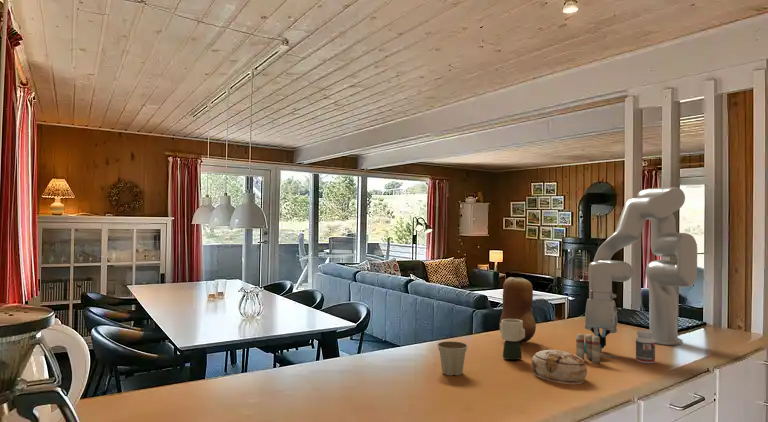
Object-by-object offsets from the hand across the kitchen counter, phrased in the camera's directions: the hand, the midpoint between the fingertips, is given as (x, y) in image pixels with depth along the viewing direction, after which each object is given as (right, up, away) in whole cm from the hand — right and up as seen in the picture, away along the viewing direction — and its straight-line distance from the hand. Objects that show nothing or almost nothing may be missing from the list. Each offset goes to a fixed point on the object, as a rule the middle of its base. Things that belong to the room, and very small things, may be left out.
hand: (600, 347), depth 175 cm
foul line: (-3, -1, -4) cm, 5 cm away
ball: (-6, +2, -7) cm, 9 cm away
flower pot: (-57, -1, -25) cm, 62 cm away
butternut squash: (-26, -2, +13) cm, 30 cm away
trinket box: (-26, -1, -29) cm, 39 cm away
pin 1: (-12, -1, -11) cm, 16 cm away
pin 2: (-8, -1, -14) cm, 16 cm away
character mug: (-34, -2, -10) cm, 36 cm away
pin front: (-8, -1, -10) cm, 13 cm away
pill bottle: (+9, -2, -12) cm, 16 cm away
